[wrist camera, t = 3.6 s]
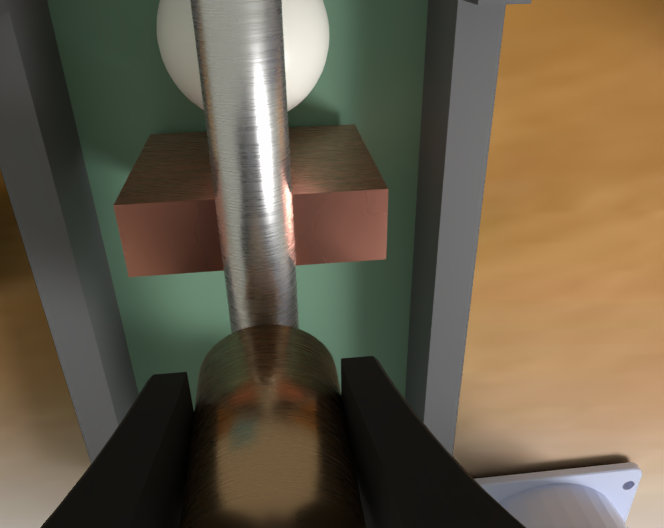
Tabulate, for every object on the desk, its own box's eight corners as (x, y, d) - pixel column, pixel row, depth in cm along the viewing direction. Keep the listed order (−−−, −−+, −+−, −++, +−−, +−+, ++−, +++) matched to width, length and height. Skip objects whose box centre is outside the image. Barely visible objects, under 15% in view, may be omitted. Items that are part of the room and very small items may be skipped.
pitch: (434, 443, 23) (476, 562, 19) (123, 474, 22) (90, 608, 18) (518, -441, 12) (683, -674, 7) (-135, -468, 10) (-421, -763, 6)
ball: (337, 149, 12) (341, -32, 10) (165, 158, 12) (126, -27, 10) (320, 75, 15) (320, -83, 12) (178, 81, 14) (150, -81, 12)
